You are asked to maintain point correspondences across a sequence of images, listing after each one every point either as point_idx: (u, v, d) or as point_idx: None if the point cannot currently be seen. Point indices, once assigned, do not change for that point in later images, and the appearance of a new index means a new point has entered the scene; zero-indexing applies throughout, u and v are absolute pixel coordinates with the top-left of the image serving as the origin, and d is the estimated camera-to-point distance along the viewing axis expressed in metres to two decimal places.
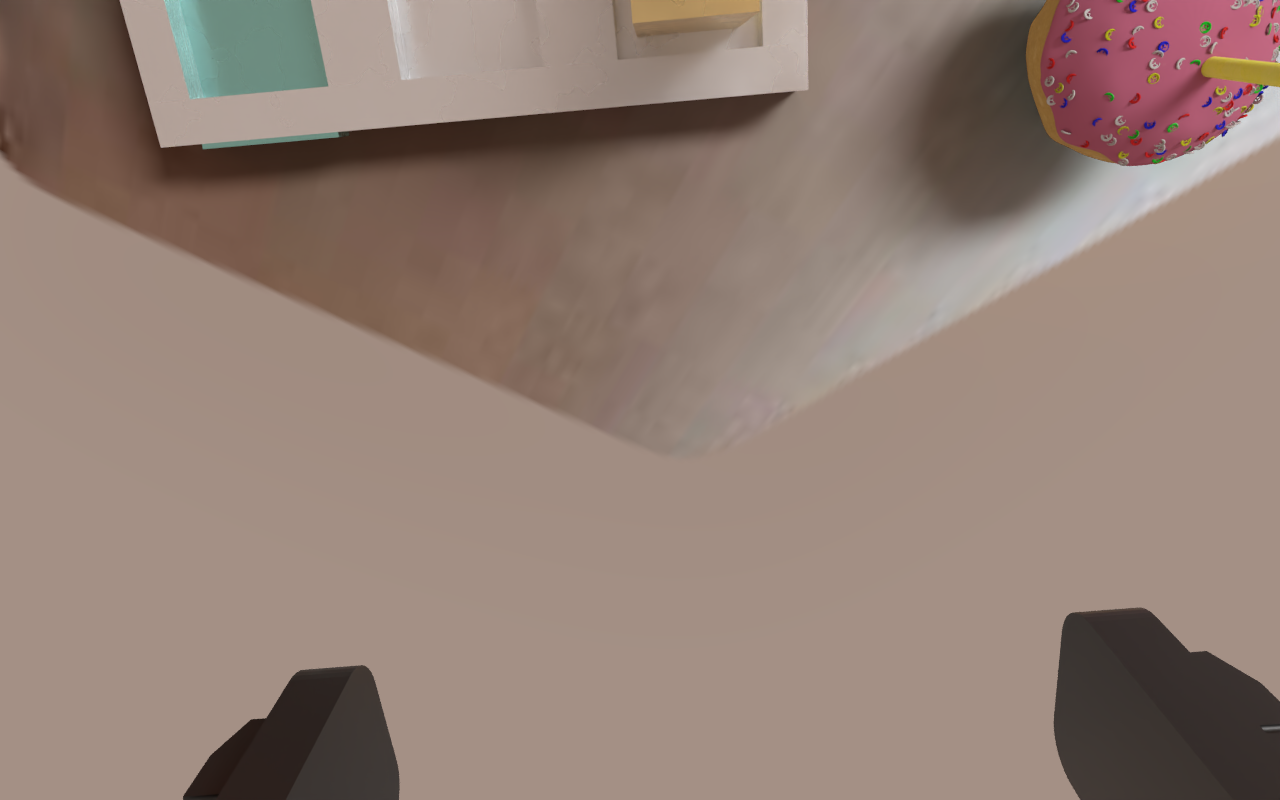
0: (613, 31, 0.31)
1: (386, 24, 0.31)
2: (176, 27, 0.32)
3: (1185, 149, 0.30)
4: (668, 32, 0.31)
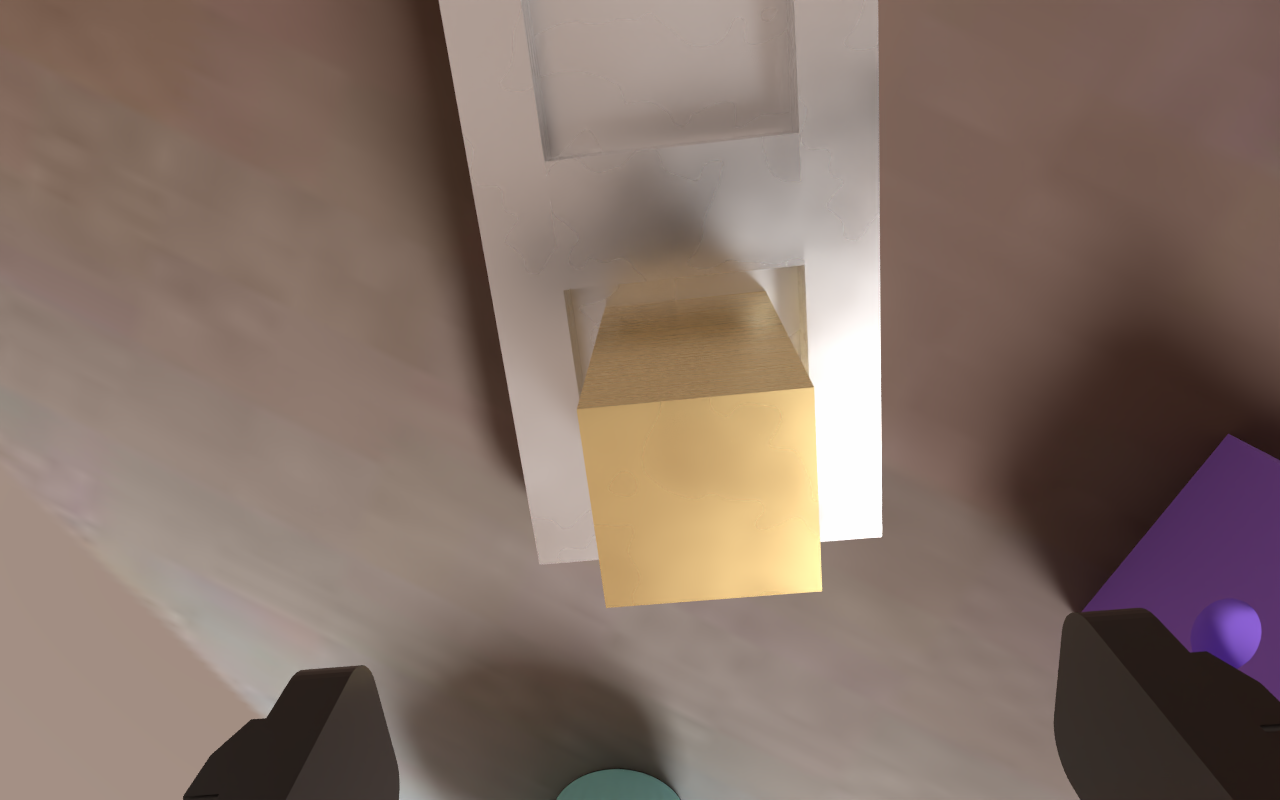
0: (605, 282, 0.19)
1: None
2: None
3: None
4: None
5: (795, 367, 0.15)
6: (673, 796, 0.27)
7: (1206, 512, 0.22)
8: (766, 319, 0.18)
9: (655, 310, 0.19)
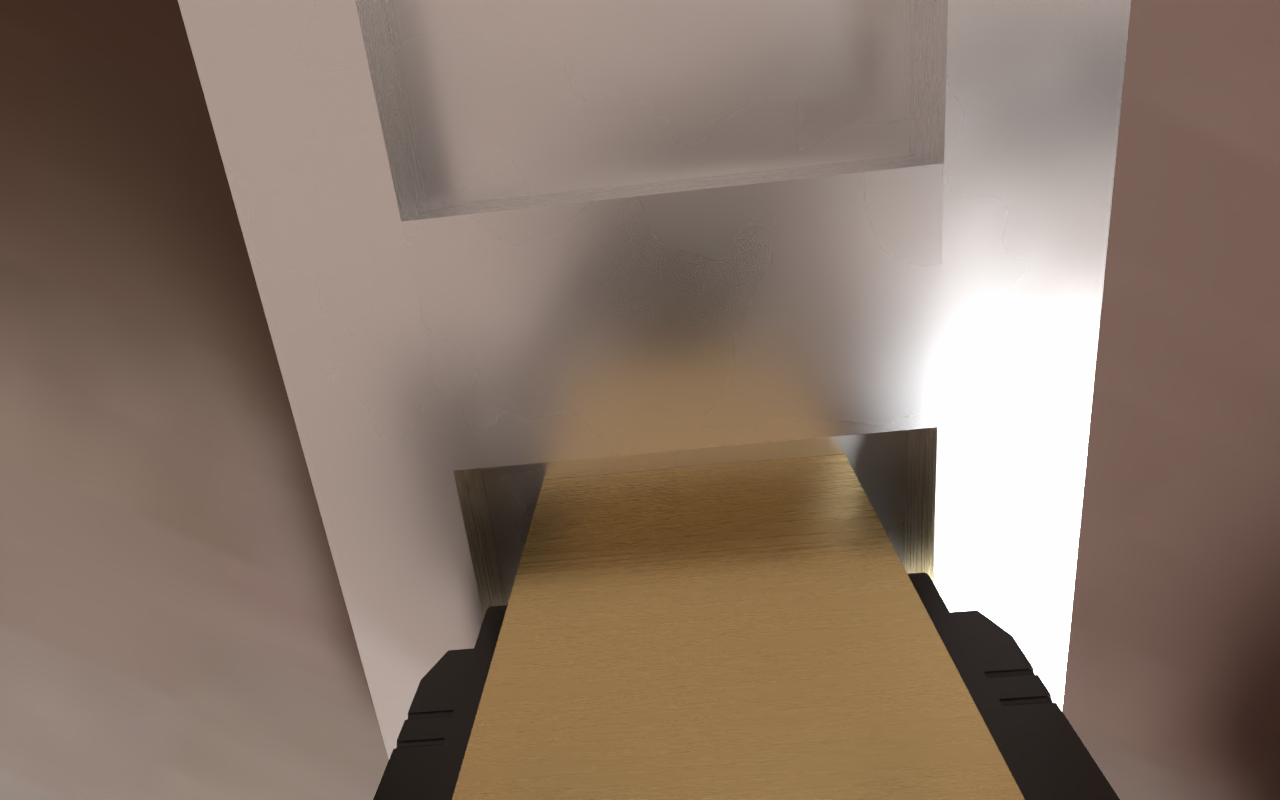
0: (537, 457, 0.09)
1: None
2: None
3: None
4: None
5: None
6: None
7: None
8: (870, 562, 0.08)
9: (637, 502, 0.10)
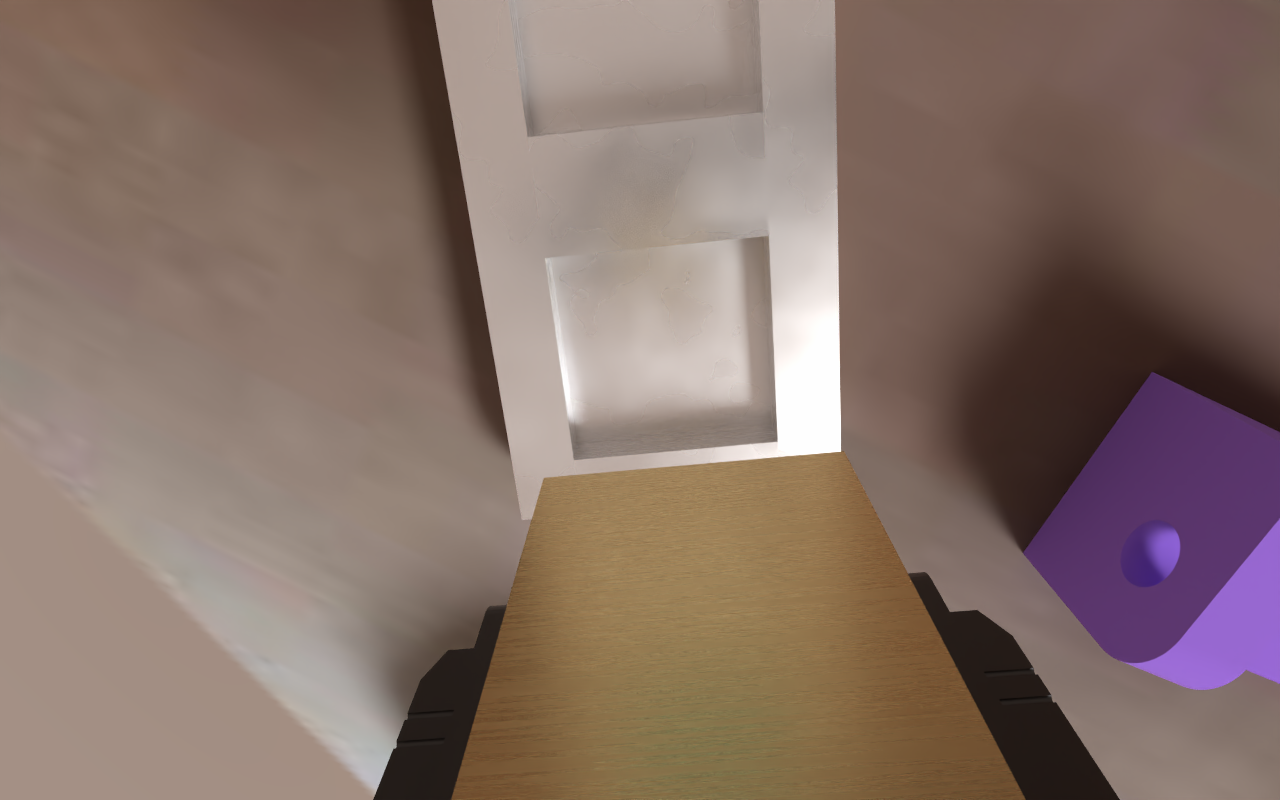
0: (584, 251, 0.20)
1: None
2: None
3: None
4: None
5: None
6: None
7: (1133, 445, 0.24)
8: (870, 559, 0.08)
9: (636, 499, 0.10)
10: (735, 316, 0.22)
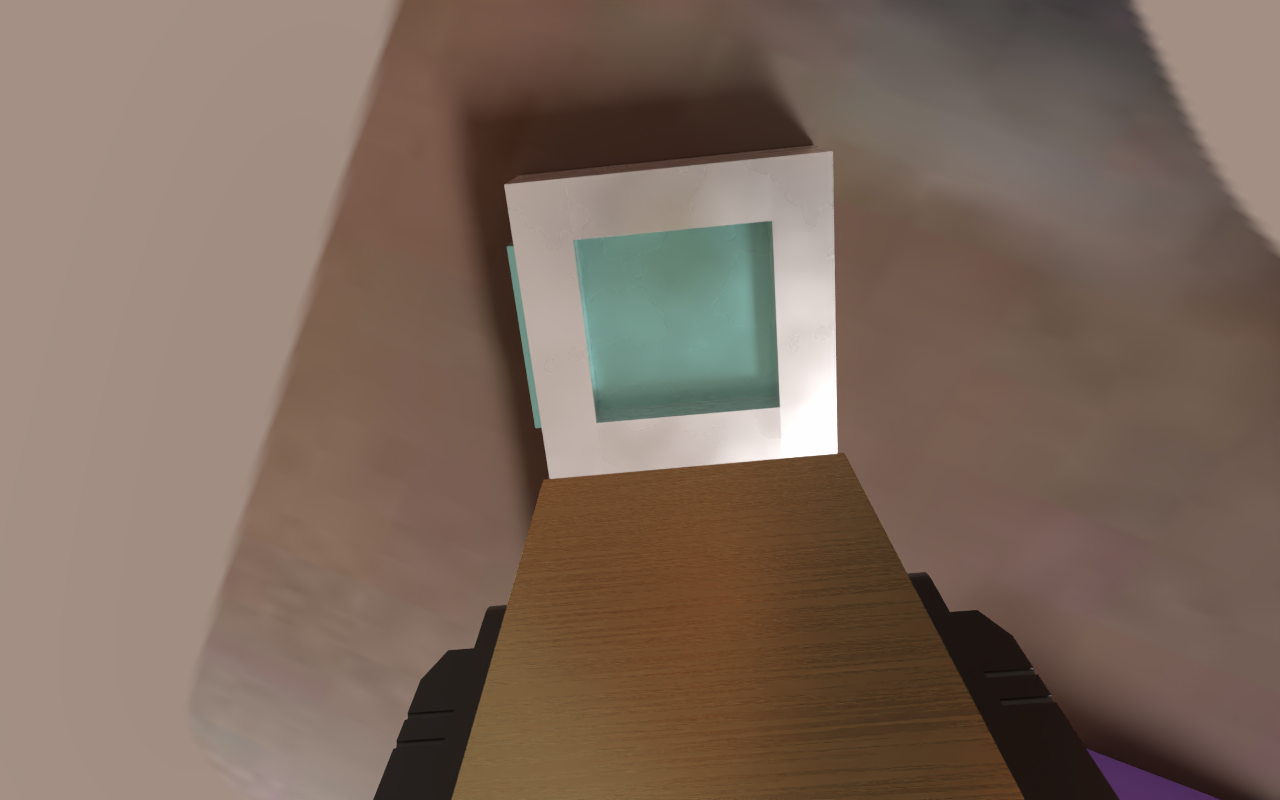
0: None
1: None
2: None
3: None
4: None
5: None
6: None
7: None
8: (870, 562, 0.08)
9: (636, 501, 0.10)
10: None
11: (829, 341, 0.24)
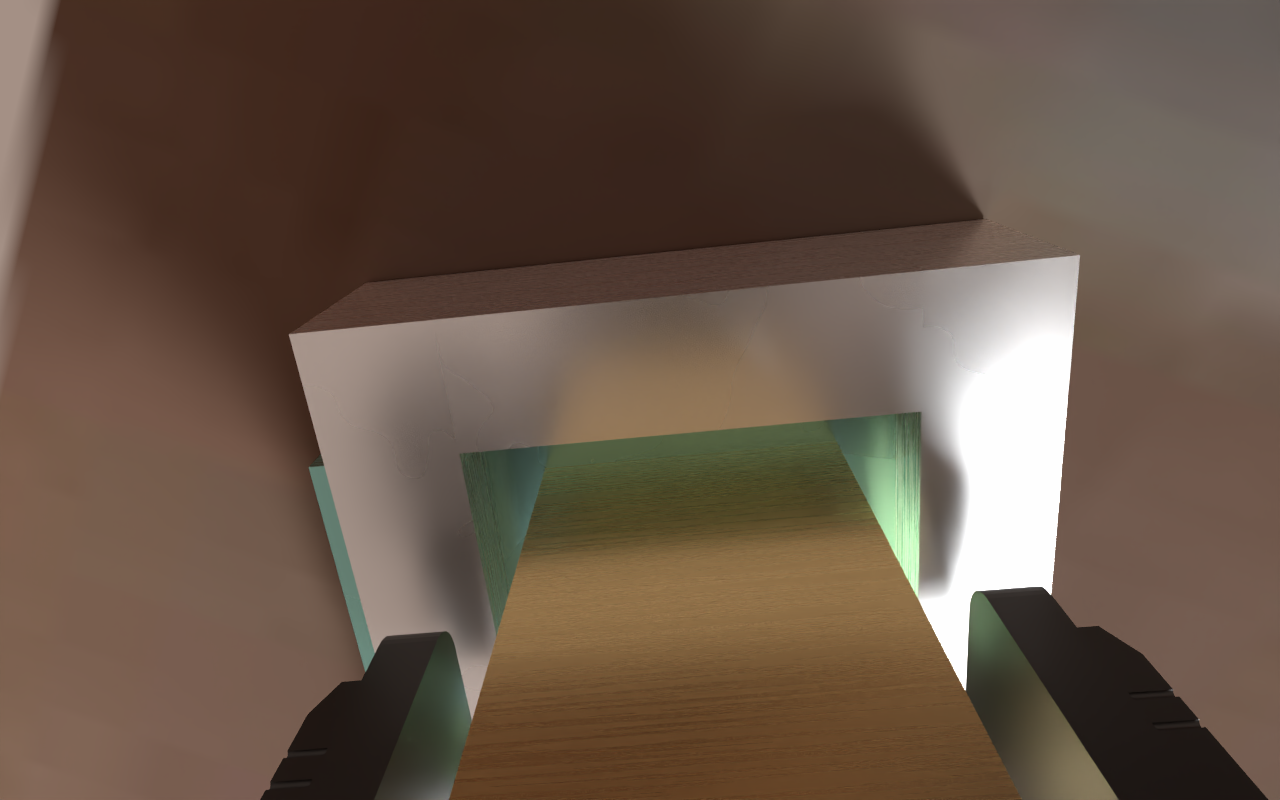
0: None
1: None
2: None
3: None
4: None
5: (996, 795, 0.06)
6: None
7: None
8: (859, 542, 0.09)
9: (635, 488, 0.10)
10: None
11: None
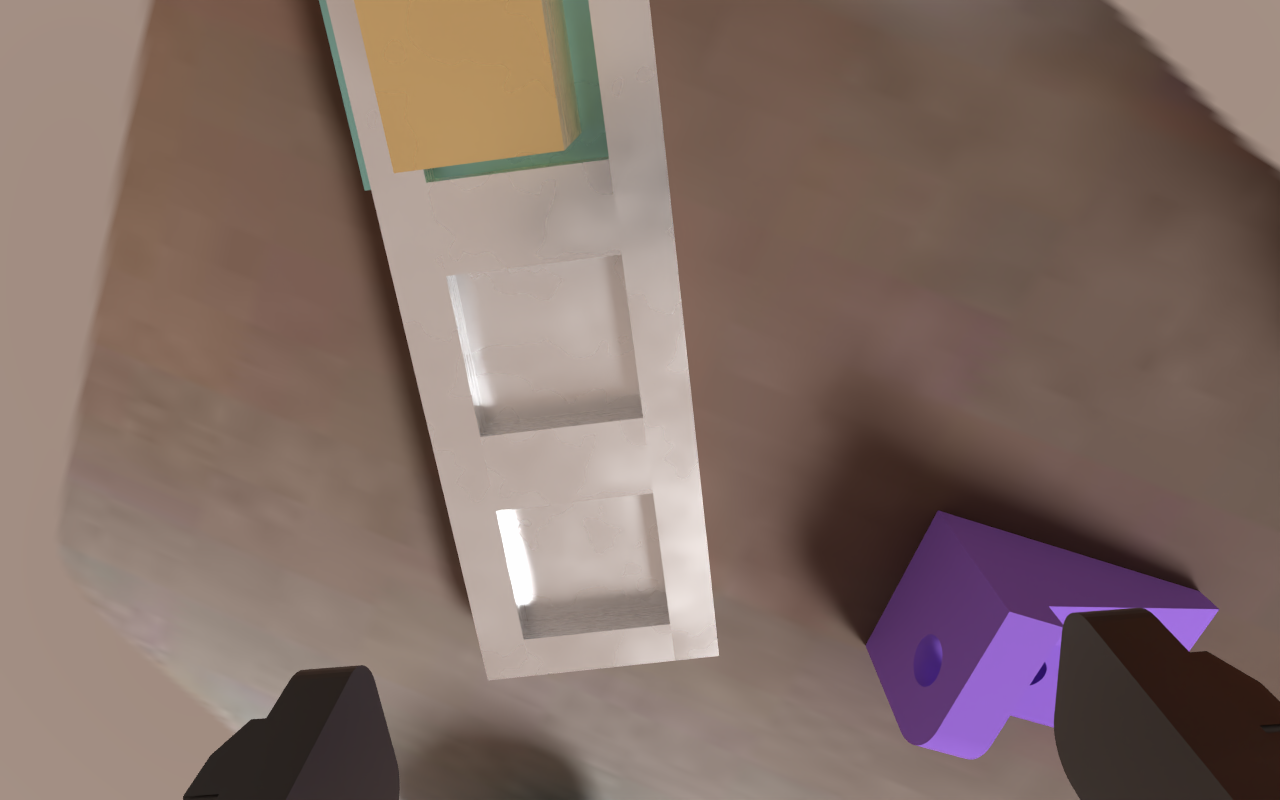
0: (524, 506, 0.29)
1: (507, 262, 0.26)
2: None
3: None
4: None
5: None
6: None
7: (925, 569, 0.32)
8: None
9: None
10: (637, 534, 0.31)
11: (652, 84, 0.24)
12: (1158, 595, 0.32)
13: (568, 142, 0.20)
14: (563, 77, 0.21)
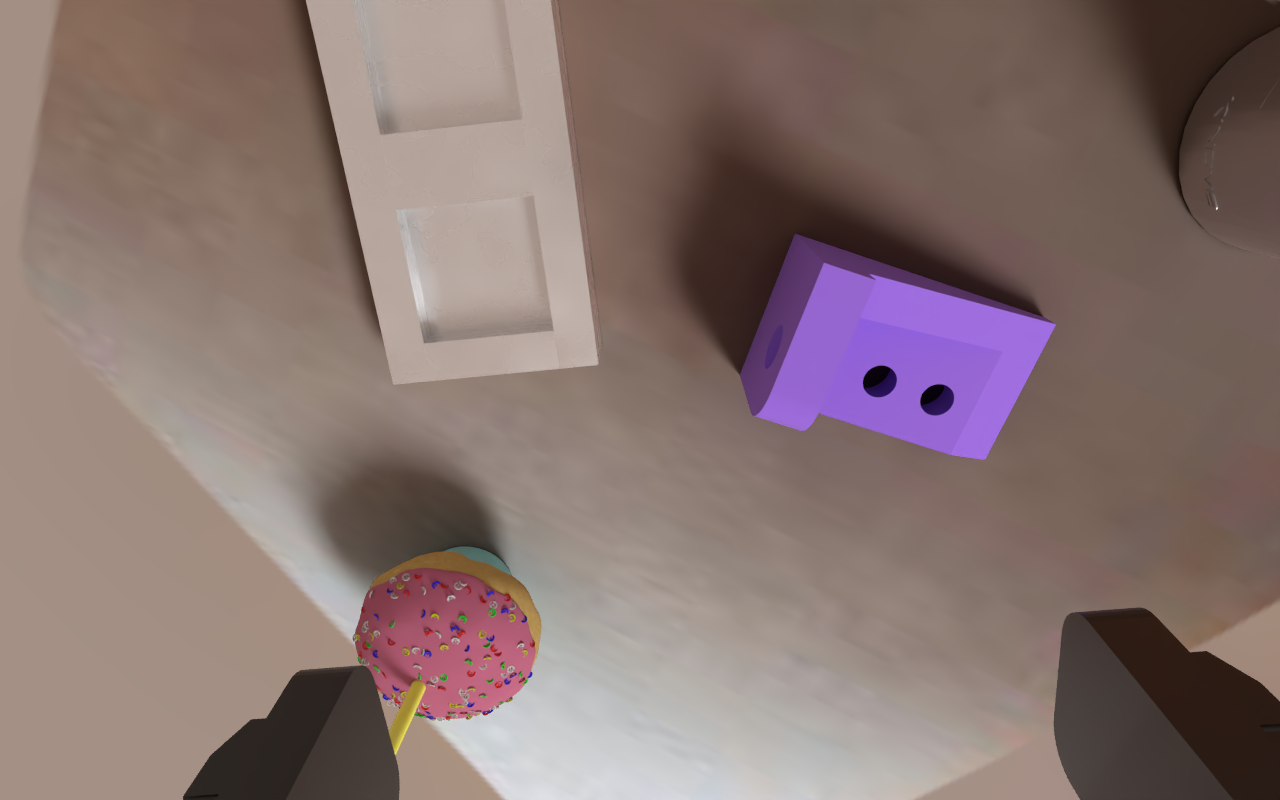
0: (420, 206, 0.33)
1: None
2: None
3: None
4: None
5: None
6: (501, 563, 0.41)
7: (781, 283, 0.35)
8: None
9: None
10: (526, 250, 0.34)
11: None
12: (995, 305, 0.35)
13: None
14: None
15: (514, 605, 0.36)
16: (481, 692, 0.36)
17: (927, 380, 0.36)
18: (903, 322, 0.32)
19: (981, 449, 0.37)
